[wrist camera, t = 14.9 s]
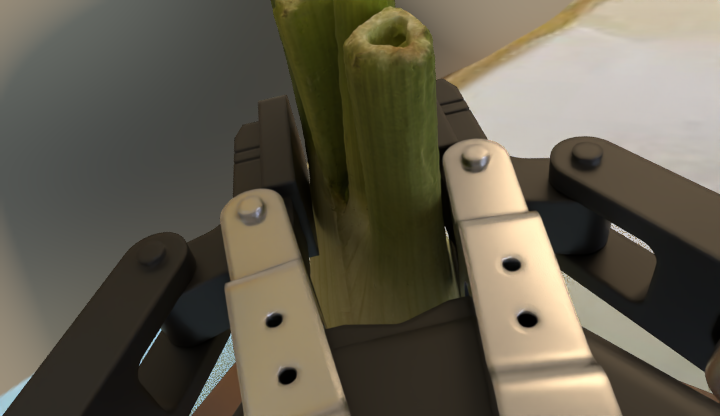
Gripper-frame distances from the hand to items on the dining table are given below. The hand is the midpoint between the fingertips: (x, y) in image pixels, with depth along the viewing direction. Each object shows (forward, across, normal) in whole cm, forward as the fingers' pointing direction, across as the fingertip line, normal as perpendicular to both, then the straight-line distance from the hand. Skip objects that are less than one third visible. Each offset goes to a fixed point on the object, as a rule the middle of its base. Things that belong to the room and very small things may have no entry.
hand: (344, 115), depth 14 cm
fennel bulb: (-3, 0, +8) cm, 8 cm away
